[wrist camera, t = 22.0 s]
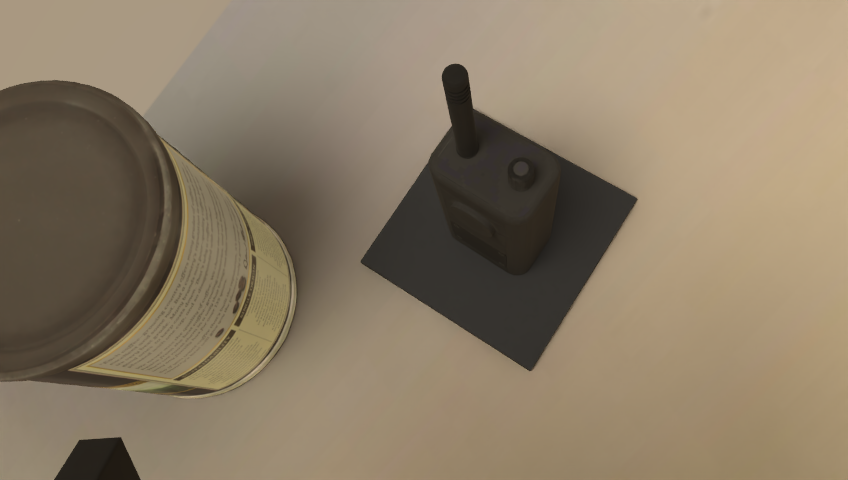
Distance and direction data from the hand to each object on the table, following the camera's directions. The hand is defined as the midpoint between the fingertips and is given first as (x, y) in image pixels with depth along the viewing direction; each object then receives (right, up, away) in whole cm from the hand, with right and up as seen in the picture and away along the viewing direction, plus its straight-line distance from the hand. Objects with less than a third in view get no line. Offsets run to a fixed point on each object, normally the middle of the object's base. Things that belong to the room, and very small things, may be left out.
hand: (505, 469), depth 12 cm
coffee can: (-13, +1, +25) cm, 28 cm away
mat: (+2, +4, +24) cm, 24 cm away
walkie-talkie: (+2, +4, +23) cm, 24 cm away
